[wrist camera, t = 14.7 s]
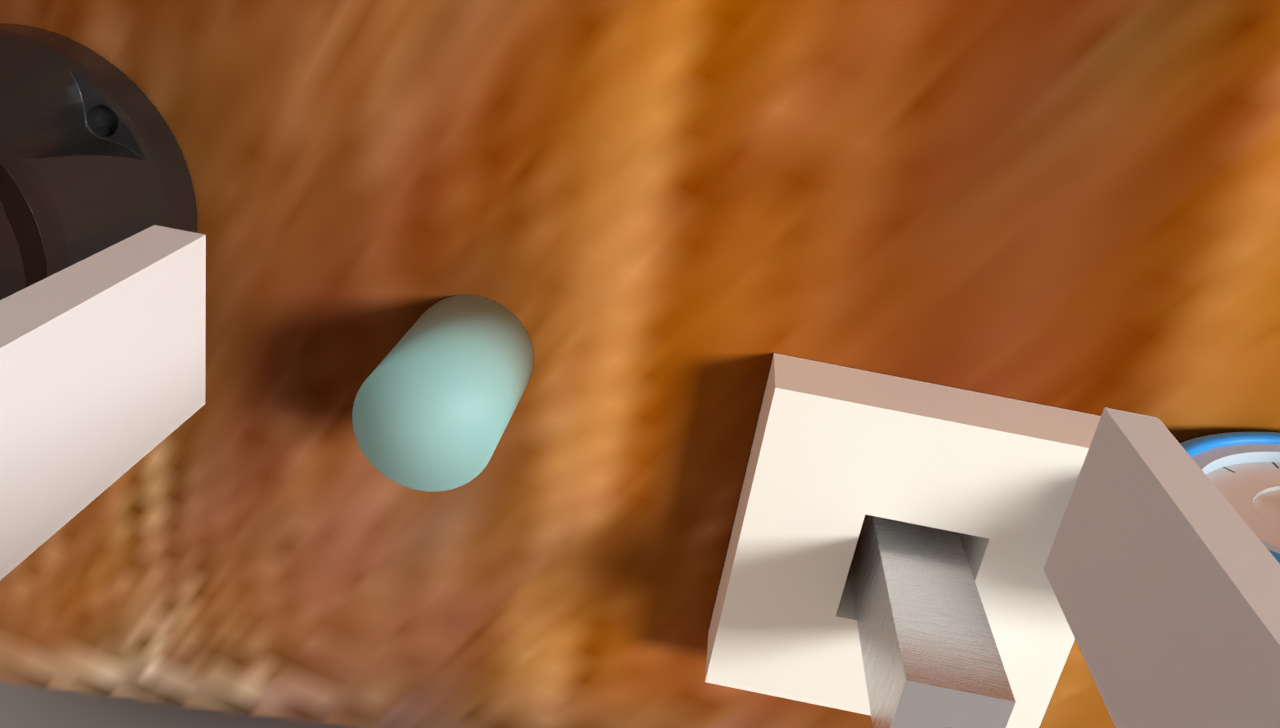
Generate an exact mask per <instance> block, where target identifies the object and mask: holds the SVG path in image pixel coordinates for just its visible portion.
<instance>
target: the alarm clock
mask: <svg viewBox="0 0 1280 728" xmlns="http://www.w3.org/2000/svg"><path fill="white" fill-rule="evenodd" d="M1178 442H1179V443H1180V444H1181V446H1182V447H1183V448H1184V449H1185V450H1186V452H1187V453H1188V454H1189V455H1190V456H1191V458H1192V459H1193V460H1194V461H1195V462H1196V464H1197V465H1198V466H1199V467H1200V468H1201V470H1202V471H1203V472H1204V473H1205V474H1206V476H1207V477H1208V478H1209V479H1210V480H1211V482H1212V483H1213V484H1214V485H1215V486H1216V488H1217V489H1218V490H1219V491H1220V492H1221V494H1222V495H1223V496H1224V497H1225V498H1226V500H1227V501H1228V502H1229V503H1230V505H1231V506H1232V507H1233V508H1234V509H1235V511H1236V512H1237V513H1238V514H1239V515H1240V517H1241V518H1242V519H1243V520H1244V521H1245V523H1246V524H1247V525H1248V526H1249V527H1250V529H1251V530H1252V531H1253V532H1254V533H1255V535H1256V536H1257V537H1258V538H1259V539H1260V541H1261V542H1262V543H1263V544H1264V545H1265V547H1266V548H1267V549H1268V550H1269V551H1270V553H1271V554H1272V555H1273V556H1274V557H1275V559H1276V560H1277V561H1278V562H1279V563H1280V433H1279V432H1230V433H1220V434H1213V435H1207V436H1203V437H1198V438H1194V439H1191V440H1187V441H1184V442H1180V441H1178Z"/></svg>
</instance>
